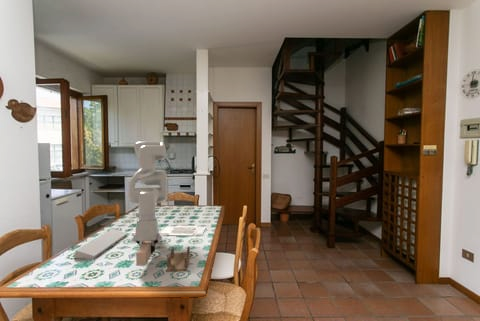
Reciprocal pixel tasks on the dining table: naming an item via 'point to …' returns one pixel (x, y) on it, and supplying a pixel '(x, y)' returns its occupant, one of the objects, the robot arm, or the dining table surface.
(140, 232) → the robot arm
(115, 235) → the decorative molding
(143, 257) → the clay strip
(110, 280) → the dining table surface
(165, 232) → the tray
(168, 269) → the rack
